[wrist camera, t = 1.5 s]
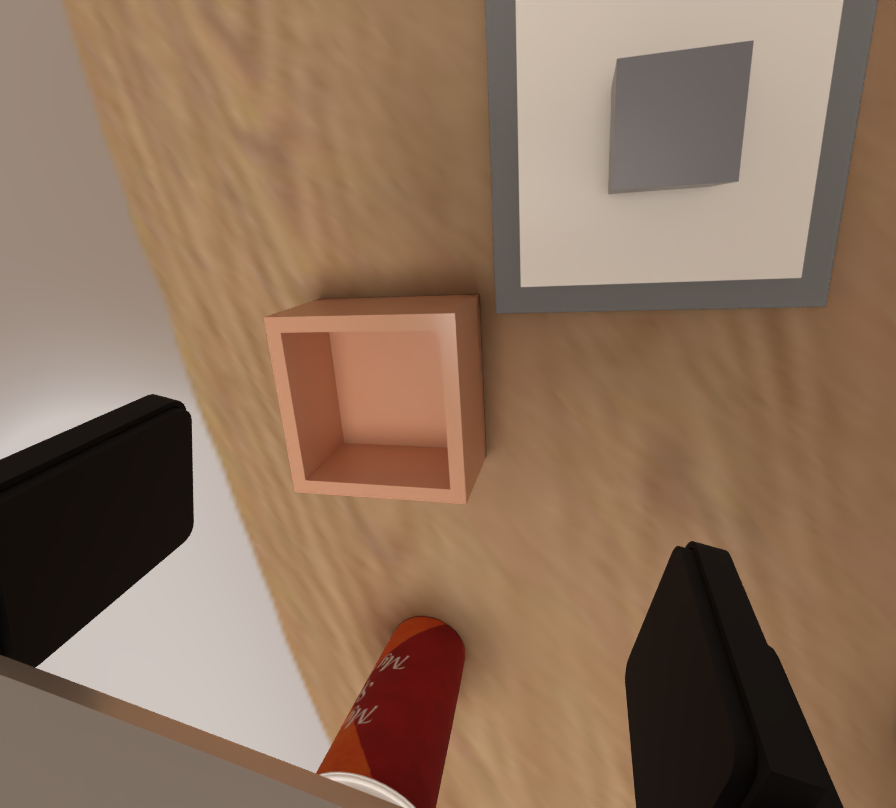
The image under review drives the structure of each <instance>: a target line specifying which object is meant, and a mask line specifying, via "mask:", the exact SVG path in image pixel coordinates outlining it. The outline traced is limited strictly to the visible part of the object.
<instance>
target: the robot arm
mask: <svg viewBox="0 0 896 808" xmlns="http://www.w3.org/2000/svg"><path fill="white" fill-rule="evenodd" d="M192 465H193V464H192V419H191V415H190V413H189V412H188V411H186V408H185V406H184V404H183V403H182V402H180V401H177V400H173V399H170V398H166V397H162V396H158V395H154V394H151V395H147V396H145V397H143V398H140V399H138V400H136V401H134V402H131V403H129V404H127V405H124V406H122V407H120V408H118V409H115V410H113V411H111V412H108V413H106V414H104V415H101V416H99V417H97V418H95V419H92V420H90V421H88V422H85V423H83V424H81V425H79V426H77V427H74V428H72V429H69V430H67V431H65V432H63V433H60V434H58V435H56V436H53V437H51V438H49V439H47V440H44V441H42V442H40V443H38V444H35V445H33V446H31V447H28V448H26V449H24V450H21V451H19V452H17V453H15V454H12V455H10V456H8V457H6V458H3V459H1V460H0V808H404V807H401V806H399V805H396V804H393V803H391V802H388V801H386V800H383V799H380V798H378V797H375V796H373V795H370V794H367V793H365V792H362V791H360V790H357V789H354V788H352V787H349V786H347V785H344V784H341V783H339V782H336V781H334V780H331V779H328V778H326V777H323V776H321V775H318V774H315V773H313V772H310V771H308V770H305V769H302V768H300V767H297V766H294V765H292V764H289V763H287V762H284V761H281V760H279V759H276V758H273V757H271V756H268V755H266V754H263V753H260V752H258V751H255V750H252V749H250V748H247V747H244V746H242V745H239V744H236V743H234V742H231V741H229V740H226V739H223V738H221V737H218V736H216V735H213V734H210V733H208V732H205V731H202V730H199V729H197V728H194V727H192V726H189V725H186V724H184V723H181V722H179V721H176V720H173V719H170V718H168V717H165V716H163V715H160V714H157V713H155V712H152V711H149V710H147V709H144V708H141V707H139V706H136V705H133V704H131V703H128V702H125V701H123V700H120V699H118V698H115V697H112V696H110V695H107V694H104V693H101V692H99V691H96V690H94V689H91V688H88V687H86V686H83V685H80V684H77V683H75V682H72V681H69V680H67V679H64V678H61V677H59V676H56V675H53V674H50V673H48V672H45V671H42V670H40V669H37V668H35V667H37V666H38V665H39V664H41V663H42V662H43V661H44V660H45V659H46V658H48V657H49V656H50V655H51V654H52V653H54V652H55V651H56V650H57V649H58V648H59V647H61V646H62V645H63V644H64V643H65V642H67V641H68V640H69V639H70V638H71V637H73V636H74V635H75V634H76V633H77V632H78V631H80V630H81V629H82V628H83V627H84V626H85V625H87V624H88V623H89V622H90V621H91V620H93V619H94V618H95V617H96V616H97V615H98V614H100V613H101V612H102V611H103V610H104V609H106V608H107V607H108V606H109V605H110V604H112V603H113V602H114V601H115V600H116V599H117V598H119V597H120V596H121V595H122V594H123V593H125V592H126V591H127V590H128V589H129V588H130V587H132V586H133V585H134V584H135V583H136V582H138V581H139V580H140V579H141V578H142V577H143V576H145V575H146V574H147V573H148V572H149V571H151V570H152V569H153V568H154V567H155V566H156V565H158V564H159V563H160V562H161V561H162V560H164V559H165V558H166V557H167V556H168V555H170V554H171V553H172V552H173V551H174V550H175V549H177V548H178V547H179V546H180V545H181V544H183V543H184V542H185V541H186V540H187V538H188V537H189V536H190V534H191V532H192V529H193V523H194V516H193V515H194V514H193V471H192V469H193V468H192ZM625 686H626V697H627V708H628V720H629V731H630V742H631V754H632V765H633V777H634V788H635V799H636V808H843V805H842V803H841V801H840V798H839V796H838V794H837V792H836V789H835V787H834V785H833V782H832V780H831V778H830V775H829V773H828V771H827V768H826V766H825V764H824V761H823V759H822V757H821V754H820V752H819V750H818V748H817V745H816V743H815V741H814V738H813V736H812V734H811V731H810V729H809V727H808V724H807V722H806V720H805V717H804V715H803V713H802V710H801V708H800V706H799V703H798V701H797V699H796V697H795V694H794V692H793V690H792V687H791V685H790V683H789V680H788V678H787V676H786V673H785V671H784V669H783V666H782V664H781V662H780V659H779V657H778V656H777V654H776V652H775V651H774V649H773V648H772V647H770V646H769V645H768V644H767V642H766V640H765V637H764V635H763V632H762V630H761V628H760V625H759V623H758V621H757V618H756V616H755V613H754V611H753V609H752V606H751V604H750V601H749V599H748V597H747V594H746V592H745V590H744V587H743V585H742V582H741V580H740V578H739V575H738V573H737V570H736V568H735V566H734V563H733V561H732V558H731V556H730V554H729V553H728V551H726V550H723V549H719V548H715V547H712V546H708V545H704V544H701V543H697V542H694V541H691V542H689V543H688V544H687V546H686V547H685V548H683V547H680V546H677V547H675V549H674V550H673V552H672V554H671V557H670V559H669V561H668V564H667V566H666V569H665V571H664V574H663V576H662V578H661V581H660V583H659V586H658V588H657V591H656V593H655V595H654V598H653V600H652V603H651V605H650V608H649V610H648V612H647V615H646V617H645V620H644V622H643V625H642V627H641V630H640V632H639V634H638V637H637V639H636V642H635V644H634V647H633V649H632V651H631V654H630V656H629V659H628V662H627V666H626V673H625Z"/></svg>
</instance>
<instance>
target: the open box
mask: <svg viewBox="0 0 896 808" xmlns="http://www.w3.org/2000/svg"><path fill="white" fill-rule="evenodd" d="M264 322H265V327H266V333H267V338H268V344H269V350H270V355H271V361H272V367H273V372H274V378H275V383H276V389H277V395H278V400H279V406H280V411H281V417H282V423H283V428H284V434H285V439H286V445H287V451H288V456H289V462H290V468H291V473H292V479H293V484H294V490H295V492H300V493H315V494H329V495H343V496H357V497H372V498H386V499H400V500H414V501H429V502H443V503H457V504H467V501H468V499H469V496H470V494H471V492H472V489H473V487H474V484H475V482H476V479H477V477H478V475H479V472H480V470H481V467H482V465H483V463H484V460H485V458H486V435H485V412H484V389H483V366H482V343H481V320H480V297H479V294H473V295H440V296H407V297H374V298H341V299H318V300H315V301H312V302H309V303H306V304H303V305H300V306H297V307H294V308H291V309H287V310H284V311H281V312H278V313H275V314H272V315H269V316H266V317H264Z"/></svg>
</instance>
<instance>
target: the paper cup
mask: <svg viewBox="0 0 896 808" xmlns="http://www.w3.org/2000/svg"><path fill="white" fill-rule="evenodd" d="M464 659H465V649H464V645H463V642H462V640H461V638H460V637H459V635H458V634H457V633H456V632H455V631H454V630H453V629H452V628H451V627H450V626H448V625H447V624H445V623H444V622H442V621H440V620H437V619H434V618H430V617H423V616H420V617H413V618H409V619H407V620H405V621H404V622H402V623H401V624H400V625H399V626H398V628H397V629H396V631H395V632H394V634H393V635H392V637H391V639H390V641H389V642H388V644H387V646H386V647H385V649H384V651H383V653H382V655H381V656H380V658H379V660H378V662H377V663H376V665H375V667H374V669H373V671H372V672H371V674H370V676H369V678H368V680H367V682H366V683H365V685H364V687H363V689H362V691H361V692H360V694H359V696H358V698H357V700H356V701H355V703H354V705H353V707H352V709H351V711H350V712H349V714H348V716H347V718H346V720H345V722H344V723H343V725H342V727H341V729H340V731H339V732H338V734H337V736H336V738H335V740H334V742H333V743H332V745H331V747H330V749H329V751H328V753H327V754H326V756H325V758H324V760H323V762H322V763H321V765H320V767H319V769H318V771H317V773H316V774H318V775H321V776H323V777H326V778H328V779H331V780H334V781H336V782H339V783H341V784H344V785H347V786H349V787H352V788H354V789H357V790H360V791H362V792H365V793H367V794H370V795H373V796H375V797H378V798H380V799H383V800H386V801H388V802H391V803H393V804H396V805H399V806H401V807H404V808H436V804H437V799H438V794H439V789H440V784H441V779H442V774H443V769H444V764H445V759H446V754H447V749H448V744H449V739H450V734H451V729H452V724H453V719H454V714H455V709H456V704H457V699H458V694H459V688H460V683H461V678H462V672H463V666H464Z"/></svg>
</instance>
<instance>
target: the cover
mask: <svg viewBox="0 0 896 808" xmlns="http://www.w3.org/2000/svg"><path fill="white" fill-rule="evenodd" d="M843 1H844V0H516V54H517V109H518V164H519V219H520V274H521V287H541V286H571V285H601V284H631V283H662V282H692V281H722V280H752V279H783V278H801V277H802V270H803V264H804V257H805V251H806V244H807V237H808V231H809V224H810V218H811V211H812V205H813V198H814V191H815V185H816V178H817V172H818V165H819V158H820V152H821V145H822V139H823V132H824V126H825V119H826V112H827V106H828V99H829V93H830V86H831V80H832V73H833V66H834V60H835V53H836V47H837V40H838V34H839V27H840V20H841V14H842V7H843Z"/></svg>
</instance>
